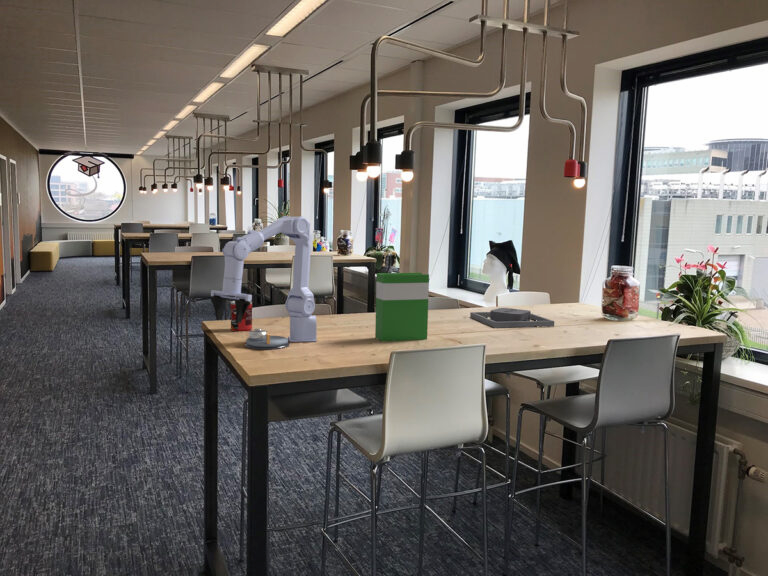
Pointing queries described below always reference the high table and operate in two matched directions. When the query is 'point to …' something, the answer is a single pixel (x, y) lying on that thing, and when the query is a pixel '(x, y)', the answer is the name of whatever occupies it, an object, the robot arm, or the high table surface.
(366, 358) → the high table surface
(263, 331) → the cover
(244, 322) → the canned food
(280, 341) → the turntable
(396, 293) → the green cereal box
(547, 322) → the black tray rim
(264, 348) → the turntable base
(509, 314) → the streaming box
